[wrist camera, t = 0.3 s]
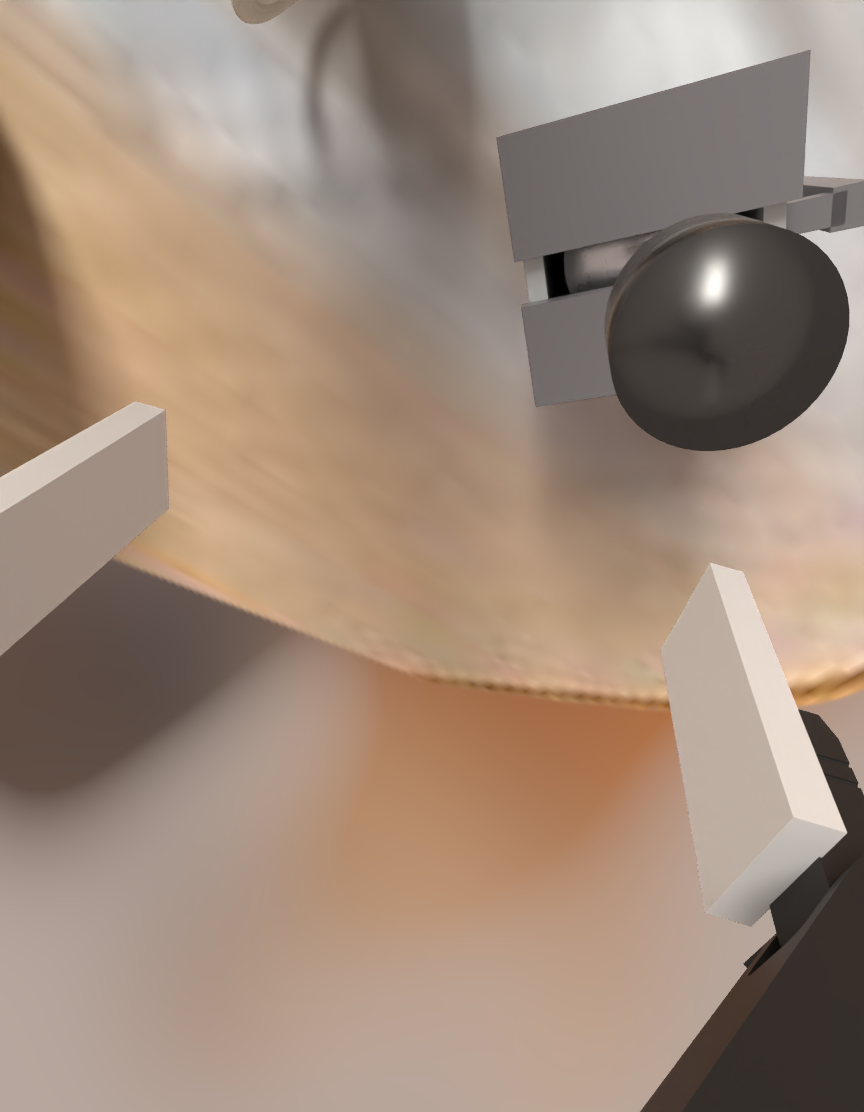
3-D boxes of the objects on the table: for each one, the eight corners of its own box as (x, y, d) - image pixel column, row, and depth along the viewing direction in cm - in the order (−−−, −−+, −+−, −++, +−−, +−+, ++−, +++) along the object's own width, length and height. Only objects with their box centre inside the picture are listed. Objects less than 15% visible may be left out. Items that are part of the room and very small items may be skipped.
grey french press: (523, 146, 36) (496, 137, 24) (785, 75, 32) (912, 21, 20) (548, 334, 41) (535, 407, 29) (776, 291, 38) (874, 354, 25)
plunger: (555, 180, 26) (528, 199, 12) (735, 134, 24) (955, 92, 10) (573, 347, 29) (570, 516, 15) (733, 318, 27) (898, 480, 13)
